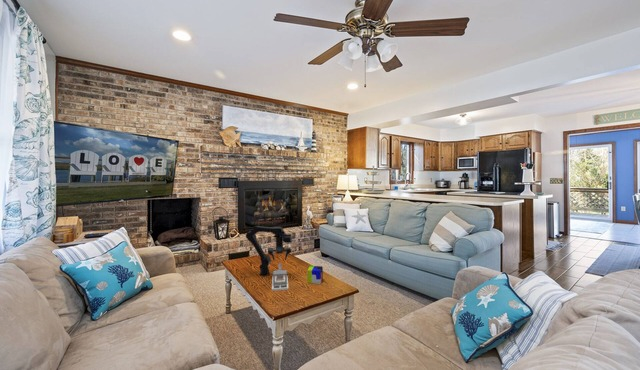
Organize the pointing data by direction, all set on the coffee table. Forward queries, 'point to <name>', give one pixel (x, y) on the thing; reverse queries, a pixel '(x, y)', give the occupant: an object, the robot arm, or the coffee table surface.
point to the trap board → (280, 284)
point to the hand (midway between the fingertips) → (279, 260)
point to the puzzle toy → (315, 274)
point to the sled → (280, 275)
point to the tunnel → (278, 273)
